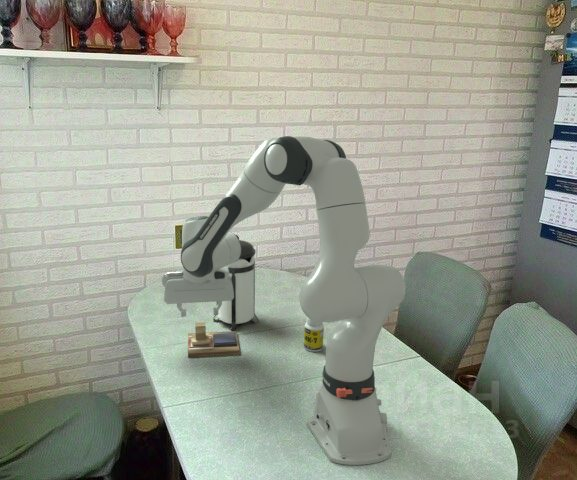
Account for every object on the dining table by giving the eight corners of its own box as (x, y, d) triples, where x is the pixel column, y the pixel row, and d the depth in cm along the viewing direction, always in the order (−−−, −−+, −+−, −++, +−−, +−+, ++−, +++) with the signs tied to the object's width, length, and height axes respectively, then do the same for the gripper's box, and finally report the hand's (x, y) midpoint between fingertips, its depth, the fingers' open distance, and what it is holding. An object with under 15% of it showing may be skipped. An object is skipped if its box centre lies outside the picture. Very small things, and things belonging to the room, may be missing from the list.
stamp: (209, 345, 169) (209, 327, 167) (192, 346, 168) (191, 328, 166) (209, 337, 173) (208, 319, 172) (192, 338, 173) (191, 320, 171)
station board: (239, 354, 167) (239, 347, 166) (188, 357, 164) (187, 350, 164) (236, 334, 179) (236, 327, 178) (188, 336, 176) (188, 330, 176)
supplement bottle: (300, 349, 171) (301, 318, 168) (308, 341, 175) (309, 311, 172) (318, 354, 168) (319, 322, 165) (325, 346, 173) (327, 315, 170)
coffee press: (261, 312, 196) (262, 228, 187) (254, 332, 180) (255, 243, 172) (212, 309, 197) (211, 226, 188) (201, 329, 182) (199, 240, 173)
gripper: (161, 276, 159) (163, 321, 163) (234, 273, 162) (234, 317, 166) (162, 269, 165) (164, 313, 169) (232, 266, 168) (233, 309, 172)
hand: (199, 315), depth 167 cm, fingers open, 8 cm apart
